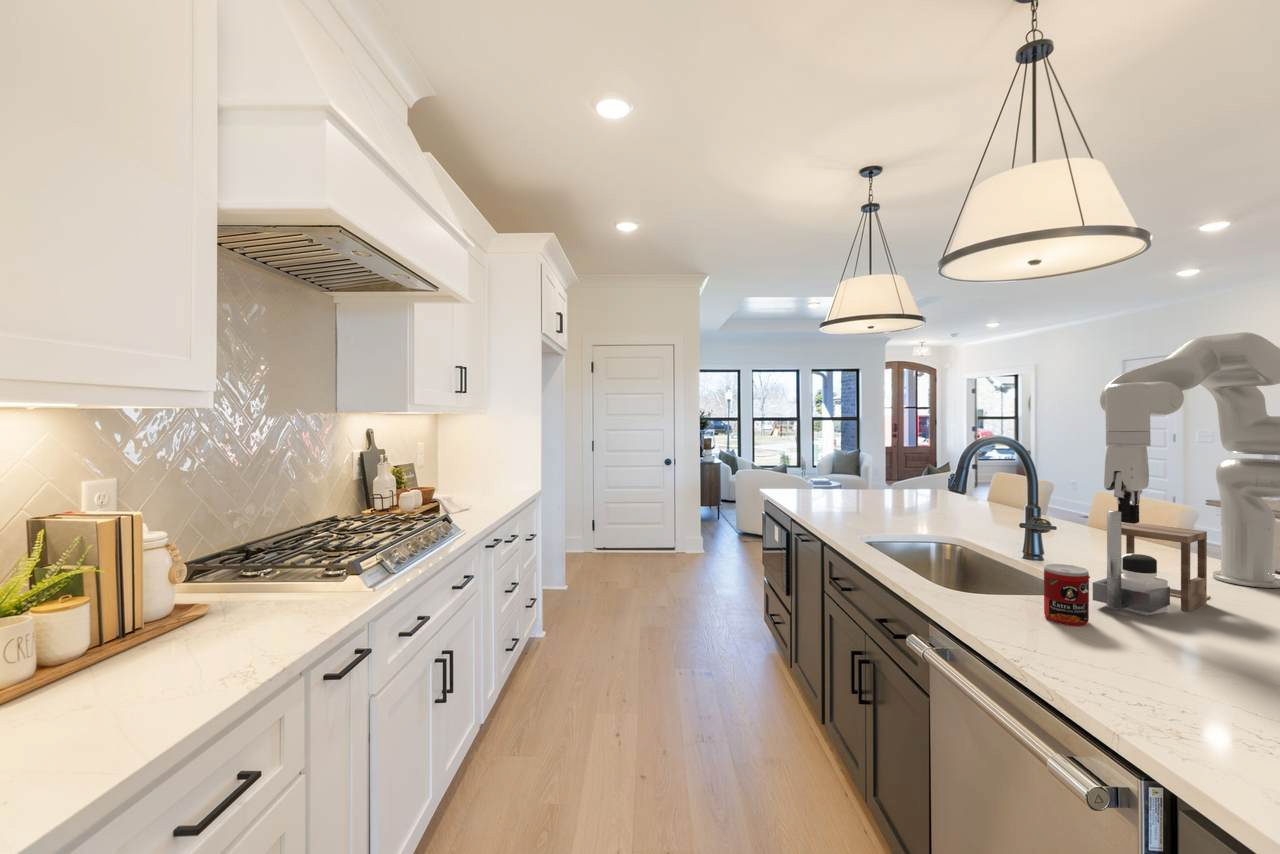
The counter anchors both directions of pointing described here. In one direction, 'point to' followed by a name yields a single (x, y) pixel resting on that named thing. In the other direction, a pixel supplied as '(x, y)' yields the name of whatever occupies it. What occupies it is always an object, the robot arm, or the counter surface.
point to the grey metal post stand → (1111, 586)
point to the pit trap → (1178, 593)
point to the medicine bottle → (1141, 577)
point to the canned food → (1066, 594)
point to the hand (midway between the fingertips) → (1128, 522)
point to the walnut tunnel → (1190, 589)
